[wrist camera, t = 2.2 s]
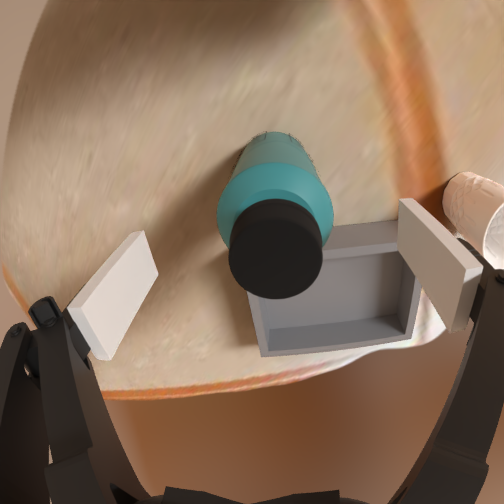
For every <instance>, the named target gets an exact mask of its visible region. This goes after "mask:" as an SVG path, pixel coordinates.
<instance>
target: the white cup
mask: <svg viewBox="0 0 504 504" xmlns="http://www.w3.org/2000/svg"><path fill="white" fill-rule="evenodd" d="M442 204H443V209H444V214H445V215H446V217H447V218H448V219H449V221H450V222H451V223H452V224H453V225H454V226H455V227H456V229H457V231H458V232H459V233H460V234H461V235H462V236H463V238H464V239H465V240H466V241H467V242H468V243H470V244H471V245H472V246H473V247H474V248H475V250H477V251H478V252H479V253H480V255H482V256H483V257H484V258H485V259H486V260H487V261H488V262H489V263H490V264H491V265H492V266H493V268H494V269H504V186H503V185H501V184H498V183H496V182H494V181H492V180H489V179H487V178H483V177H481V176H478V175H476V174H474V173H472V172H461V173H459V174H457V175H456V176H455V177H453V178H452V179H451V180H450V181H449V183H448V185H447V186H446V188H445V190H444V195H443V200H442Z"/></svg>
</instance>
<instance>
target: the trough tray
mask: <svg viewBox="0 0 504 504" xmlns="http://www.w3.org/2000/svg"><path fill="white" fill-rule="evenodd" d="M397 238H398V220H392V221H382V222H372V223H362V224H353V225H343V226H334V227H332V231H331V234H330V236H329V238H328V240H327V242H326V243H325V245H324V247H323V248H322V252H323V262H322V267H321V270H320V273H319V275H318V277H317V278H316V280H315V281H314V283H313V284H312V285H311V286H310V287H309V288H308V289H306V290H305V291H304V292H302V293H300V294H298V295H296V296H293V297H290V298H286V299H266V298H261V297H258V296H256V295H253V294H251V293H250V292H248V291H247V295H248V300H249V304H250V309H251V313H252V318H253V322H254V327H255V331H256V336H257V340H258V345H259V349H260V354H261V357H273V356H287V355H298V354H309V353H319V352H328V351H336V350H344V349H351V348H359V347H366V346H372V345H379V344H385V343H391V342H396V341H402V340H407V339H411V337H412V333H413V328H414V324H415V319H416V315H417V310H418V305H419V299H420V294H421V288H422V286H421V284H420V283H419V281H418V279H417V278H416V276H415V275H414V273H413V272H412V270H411V269H410V267H409V266H408V264H407V263H406V261H405V260H404V258H403V257H402V255H401V254H400V252H399V251H398V249H397Z"/></svg>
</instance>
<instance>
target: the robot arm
mask: <svg viewBox="0 0 504 504" xmlns="http://www.w3.org/2000/svg"><path fill="white" fill-rule="evenodd" d="M397 249H398V251H399V252H400V254H401V255H402V257H403V258H404V260H405V261H406V263H407V264H408V266H409V267H410V269H411V270H412V272H413V273H414V275H415V276H416V278H417V279H418V281H419V283H420V284H421V286H422V287H423V289H424V291H425V292H426V294H427V296H428V297H429V299H430V300H431V302H432V304H433V305H434V307H435V309H436V311H437V312H438V314H439V316H440V317H441V319H442V321H443V323H444V324H445V326H446V328H447V330H448V332H449V333H453V332H456V331H461V330H465V329H466V327H467V324H468V321H469V317H470V318H471V319H472V321H473V322H474V326H473V329H472V332H471V335H470V337H469V340H468V342H467V348H466V351H465V354H464V357H463V360H462V363H461V365H460V368H459V371H458V374H457V376H456V379H455V381H454V384H453V387H452V389H451V391H450V394H449V396H448V399H447V401H446V403H445V405H444V408H443V410H442V412H441V414H440V417H439V419H438V421H437V423H436V425H435V427H434V429H433V431H432V433H431V435H430V437H429V439H428V441H427V442H426V444H425V446H424V448H423V450H422V452H421V453H420V455H419V457H418V459H417V461H416V462H415V464H414V466H413V467H412V469H411V471H410V472H409V474H408V475H407V477H406V479H405V480H404V482H403V483H402V485H401V486H400V487H399V489H398V490H397V491H396V493H395V494H394V496H393V497H392V498H391V500H390V501H389V503H388V504H475V501H476V499H477V497H478V495H479V493H480V491H481V488H482V486H483V484H484V482H485V479H486V476H487V473H488V467H489V465H487V464H486V457H487V454H488V452H489V449H490V446H491V443H492V440H493V437H494V434H495V431H496V428H497V425H498V421H499V418H500V414H501V411H502V407H503V403H504V269H494V268H493V266H492V265H491V264H490V263H489V262H488V261H487V260H486V259H485V258H484V257H483V256H482V255H480V253H479V252H478V251H477V250H475V248H474V247H473V246H472V245H471V244H470V243H468V242H467V241H465V240H463V239H461V238H455V237H454V236H453V235H452V234H451V233H450V232H449V231H448V230H447V229H446V228H445V227H444V226H443V225H442V224H441V223H440V222H439V221H437V220H436V219H435V218H434V217H433V216H432V215H431V214H430V213H429V212H428V211H426V210H425V209H424V208H423V207H422V206H421V205H420V204H419V203H417V202H416V201H415V200H414V199H413V198H406V199H399V213H398V238H397ZM158 275H159V274H158V271H157V269H156V266H155V263H154V260H153V257H152V254H151V251H150V248H149V245H148V242H147V239H146V236H145V233H144V230H143V231H137V232H131V234H130V235H129V236H128V237H127V238H126V239H125V240H124V241H123V242H122V243H121V244H120V246H119V247H118V248H117V249H116V250H115V251H114V252H113V253H112V254H111V256H110V257H109V258H108V259H107V260H106V261H105V262H104V264H103V265H102V266H101V267H100V268H99V269H98V270H97V272H96V273H95V274H94V275H93V276H92V277H91V279H90V280H89V281H88V282H87V283H86V284H85V285H84V286H83V287H82V288H81V289H80V291H79V293H77V294H76V296H75V297H74V299H72V301H71V302H70V303H69V304H68V306H67V307H66V308H65V309H64V311H63V312H62V313H61V311H60V309H59V308H58V306H57V304H56V302H55V300H54V298H53V297H51V296H49V297H44V298H42V299H40V300H38V301H37V302H35V303H34V304H33V305H32V306H31V307H30V309H29V311H28V313H29V315H30V316H31V318H32V320H33V321H34V323H35V325H36V326H37V328H38V329H36V330H33V331H30V330H29V328H28V326H27V325H26V323H24V322H21V323H18V324H15V325H13V326H12V327H11V328H10V329H9V330H8V332H7V334H6V335H5V338H4V340H3V343H2V346H1V348H0V504H50V498H51V502H52V504H243V503H239V502H236V501H232V500H229V499H226V498H222V497H219V496H216V495H213V494H210V493H207V492H203V491H194V490H187V489H179V488H173V487H167V486H166V488H165V492H164V495H159V496H153V497H151V496H150V495H149V494H148V493H147V492H146V491H145V489H144V488H143V487H142V485H141V484H140V482H139V480H138V478H137V476H136V474H135V472H134V470H133V468H132V466H131V464H130V462H129V460H128V458H127V456H126V453H125V451H124V449H123V447H122V445H121V442H120V440H119V438H118V435H117V433H116V431H115V428H114V426H113V423H112V421H111V419H110V416H109V413H108V411H107V408H106V405H105V402H104V400H103V397H102V394H101V391H100V388H99V385H98V382H97V379H96V376H95V373H94V370H93V367H92V363H91V361H90V360H89V358H88V356H87V355H88V353H89V351H90V350H91V351H92V352H93V354H94V356H95V357H96V359H97V360H110V361H111V360H112V358H113V356H114V354H115V352H116V350H117V348H118V346H119V344H120V342H121V341H122V339H123V337H124V335H125V333H126V331H127V329H128V328H129V326H130V324H131V322H132V320H133V318H134V317H135V315H136V313H137V311H138V309H139V308H140V306H141V304H142V302H143V301H144V299H145V297H146V295H147V294H148V292H149V290H150V288H151V287H152V285H153V283H154V281H155V280H156V278H157V276H158ZM24 367H25V368H26V370H27V371H28V372H29V375H27V374H26V372H25V368H24ZM49 445H50V450H51V455H52V460H53V463H51V464H49ZM253 504H368V503H366V502H362V501H359V500H354V499H350V498H340V495H339V490H334V491H325V492H315V493H301V494H292V495H289V496H284V497H280V498H276V499H272V500H267V501H263V502H258V503H253Z"/></svg>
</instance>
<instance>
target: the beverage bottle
mask: <svg viewBox="0 0 504 504" xmlns="http://www.w3.org/2000/svg"><path fill="white" fill-rule="evenodd" d="M258 135H259V134H258ZM296 139H297V138H296ZM296 139H294V138H293V137H291V136H290V135H287V134H285V133H281V132H268V133H267V131H266V133H264V134H261V135H259V136H257V135H256V137H255V138H253V140H251V142H250V143H249V144H248V145H247V146H246V148H244V149H245V150H243V152H242V151H241V152H242V155H239V156H241V157H238V158H240V159H239V161H238V163H237V165H235V169H234V171H233V172H232V173H233V174H232V177H231V176H229V177H231V179H230V181H229V183H228V184H227V186H226V187H225V189H224V190H223V192H222V195H221V197H220V199H219V203H218V207H217V224H218V228H219V232H220V235H221V237H222V239H223V241H224V243H225V244H226V246H227V247H228V248H229V265H230V269H231V272H232V274H233V276H234V278H235V280H236V281H237V282H238V283H239V285H240V286H241V287H243V288H244V289H245V290H246V291H248V292H250V293H251V294H253V295H256V296H258V297H261V298H266V299H286V298H290V297H293V296H296V295H298V294H300V293H302V292H304V291H305V290H306V289H308V288H309V287H310V286H311V285H312V284H313V283H314V281H315V280H316V278H317V277H318V275H319V273H320V270H321V267H322V262H323V252H322V248H323V247H324V245H325V243H326V242H327V240H328V238H329V236H330V234H331V231H332V227H333V217H334V214H333V206H332V202H331V199H330V197H329V194H328V192H327V190H326V189H325V187H324V186H323V184H322V183H321V181H320V179H319V177H318V175H317V173H316V170H315V168H314V166H313V164H312V162H313V161H312V162H311V160H310V159H309V157H308V155H307V154H308V153H307V152H306V151H305V150H304V149H303V147H302V145H301V144H300V143H299V142H298V141H299V140H298V141H297V140H296ZM306 153H307V154H306ZM240 154H241V153H240ZM311 159H312V158H311ZM236 162H237V161H236Z"/></svg>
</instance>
